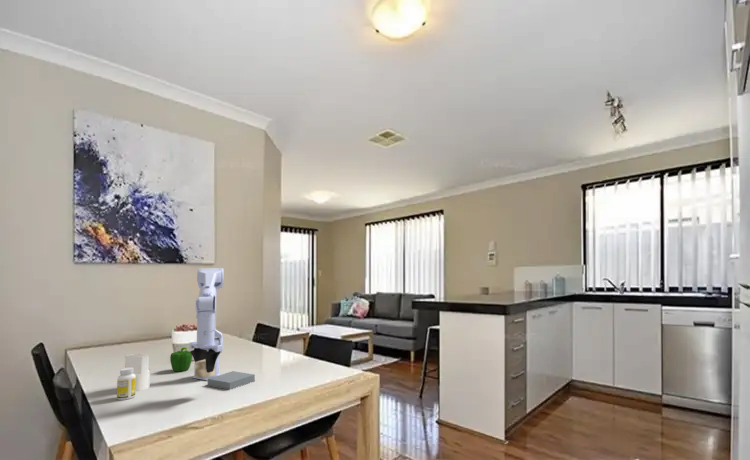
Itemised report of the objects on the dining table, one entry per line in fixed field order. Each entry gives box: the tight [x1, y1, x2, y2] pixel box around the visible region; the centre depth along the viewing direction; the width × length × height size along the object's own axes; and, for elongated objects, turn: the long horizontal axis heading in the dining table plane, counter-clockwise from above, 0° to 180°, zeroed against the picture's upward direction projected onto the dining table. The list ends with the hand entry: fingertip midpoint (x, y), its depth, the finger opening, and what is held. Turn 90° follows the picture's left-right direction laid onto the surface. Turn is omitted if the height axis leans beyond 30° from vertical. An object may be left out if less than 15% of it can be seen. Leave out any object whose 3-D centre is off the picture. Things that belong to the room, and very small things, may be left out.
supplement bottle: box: [116, 367, 136, 401], centre depth 139 cm, size 5×5×10 cm
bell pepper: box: [169, 346, 193, 372], centre depth 174 cm, size 8×8×10 cm
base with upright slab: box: [124, 353, 151, 393], centre depth 150 cm, size 9×9×12 cm
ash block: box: [194, 360, 215, 378], centre depth 139 cm, size 4×4×5 cm
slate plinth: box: [207, 370, 256, 390], centre depth 153 cm, size 12×12×2 cm
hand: (205, 371), depth 139 cm, fingers closed on ash block, 4 cm apart
